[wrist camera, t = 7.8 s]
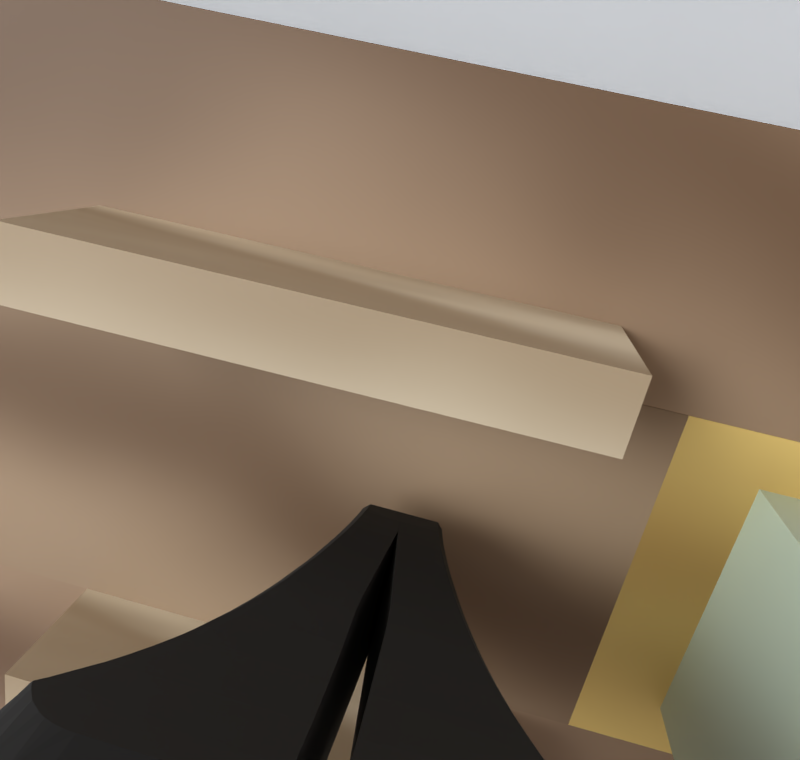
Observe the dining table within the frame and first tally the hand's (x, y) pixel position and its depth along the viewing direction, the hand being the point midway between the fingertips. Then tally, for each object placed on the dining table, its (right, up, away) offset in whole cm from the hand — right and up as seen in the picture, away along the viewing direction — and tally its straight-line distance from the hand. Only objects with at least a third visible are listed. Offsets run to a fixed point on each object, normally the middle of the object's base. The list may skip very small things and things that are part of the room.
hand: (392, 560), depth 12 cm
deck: (+5, 0, +2) cm, 6 cm away
